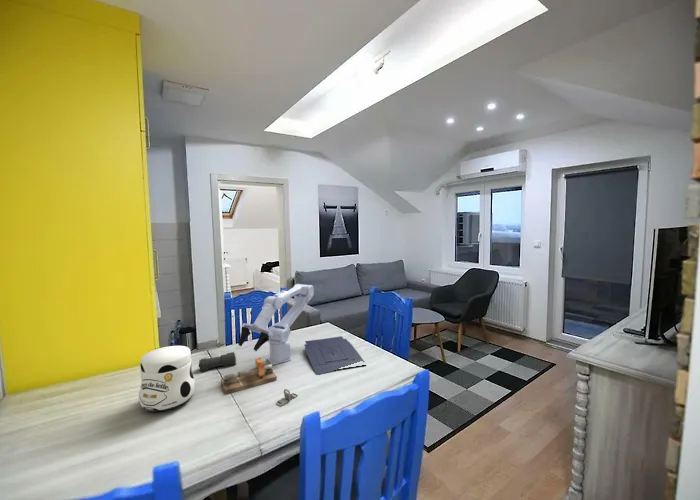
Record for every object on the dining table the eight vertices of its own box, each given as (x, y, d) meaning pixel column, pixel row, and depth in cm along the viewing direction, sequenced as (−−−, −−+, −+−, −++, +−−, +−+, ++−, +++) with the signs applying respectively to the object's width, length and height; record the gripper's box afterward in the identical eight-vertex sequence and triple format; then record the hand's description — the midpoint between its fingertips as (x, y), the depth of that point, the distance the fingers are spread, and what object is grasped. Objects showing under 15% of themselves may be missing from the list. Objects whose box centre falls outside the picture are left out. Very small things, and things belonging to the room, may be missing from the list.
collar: (260, 369, 128) (260, 357, 128) (264, 375, 123) (264, 363, 123) (255, 370, 127) (255, 358, 127) (259, 376, 122) (259, 364, 122)
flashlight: (199, 373, 130) (199, 361, 129) (198, 368, 134) (198, 357, 134) (236, 365, 137) (236, 354, 137) (234, 361, 142) (234, 350, 142)
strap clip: (280, 407, 106) (280, 396, 105) (275, 404, 108) (275, 393, 107) (298, 396, 113) (298, 386, 112) (292, 394, 114) (292, 383, 114)
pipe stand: (269, 370, 133) (269, 359, 132) (276, 379, 124) (276, 368, 124) (221, 382, 122) (220, 370, 122) (225, 394, 114) (225, 381, 113)
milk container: (135, 422, 97) (132, 369, 96) (143, 395, 112) (141, 349, 111) (195, 407, 105) (193, 358, 104) (195, 384, 120) (193, 341, 119)
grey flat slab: (344, 340, 165) (345, 334, 164) (366, 370, 138) (367, 363, 137) (301, 346, 156) (301, 340, 156) (315, 380, 129) (315, 372, 128)
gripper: (246, 311, 132) (229, 338, 124) (275, 319, 128) (259, 348, 120) (251, 318, 137) (235, 345, 129) (279, 327, 133) (264, 355, 125)
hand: (247, 347), depth 125 cm, fingers open, 7 cm apart
